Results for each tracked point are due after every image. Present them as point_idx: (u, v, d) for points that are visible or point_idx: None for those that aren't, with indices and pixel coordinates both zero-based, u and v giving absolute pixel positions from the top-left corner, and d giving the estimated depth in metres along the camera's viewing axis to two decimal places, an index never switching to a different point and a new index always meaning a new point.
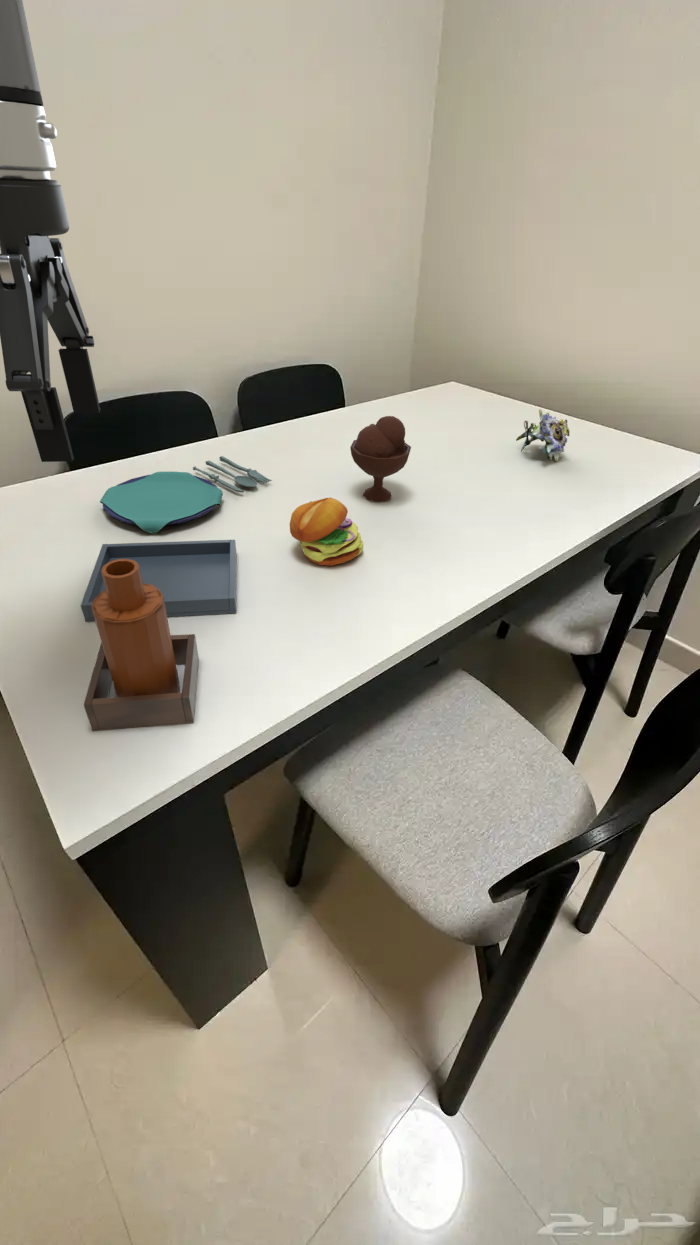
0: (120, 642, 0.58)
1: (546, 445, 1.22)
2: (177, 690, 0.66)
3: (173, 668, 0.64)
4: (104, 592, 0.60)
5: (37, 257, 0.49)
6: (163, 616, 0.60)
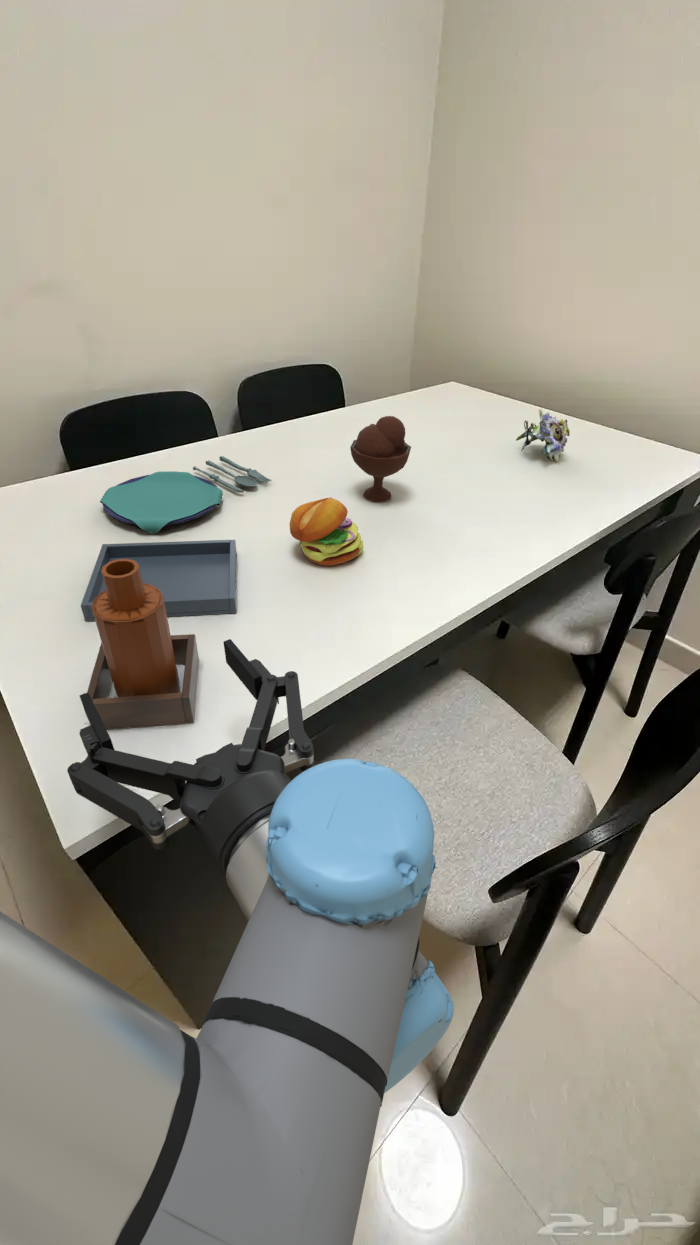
0: (120, 642, 0.58)
1: (546, 445, 1.22)
2: (177, 690, 0.66)
3: (173, 668, 0.64)
4: (104, 592, 0.60)
5: None
6: (163, 616, 0.60)
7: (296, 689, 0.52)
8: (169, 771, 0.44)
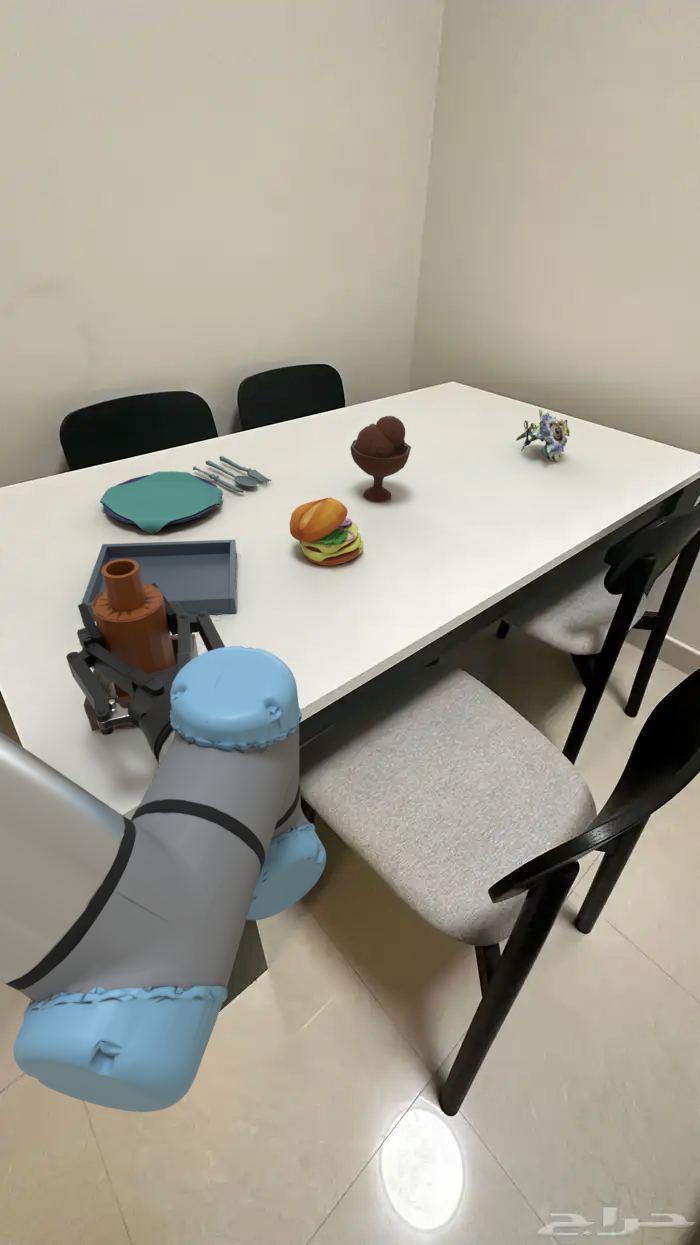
0: (120, 642, 0.58)
1: (546, 445, 1.22)
2: None
3: None
4: (104, 592, 0.60)
5: None
6: (163, 616, 0.60)
7: (210, 623, 0.60)
8: (128, 673, 0.53)
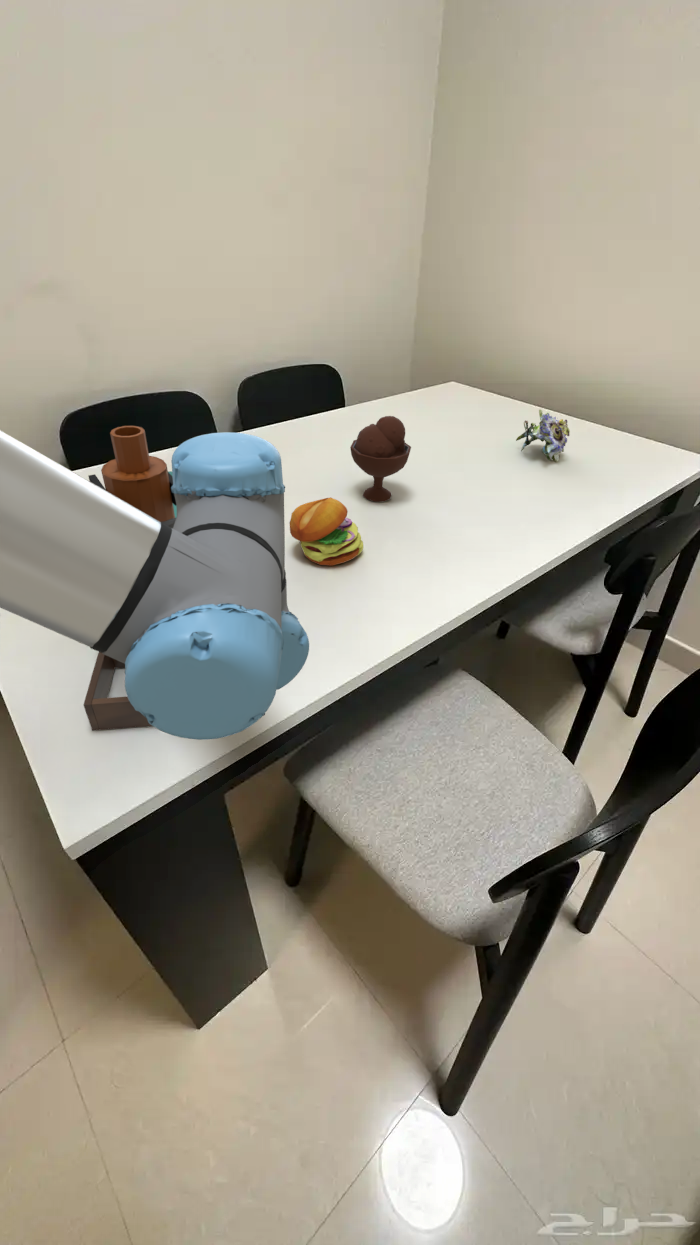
0: (127, 502, 0.63)
1: (546, 445, 1.22)
2: None
3: None
4: (112, 460, 0.65)
5: None
6: (166, 482, 0.65)
7: None
8: None
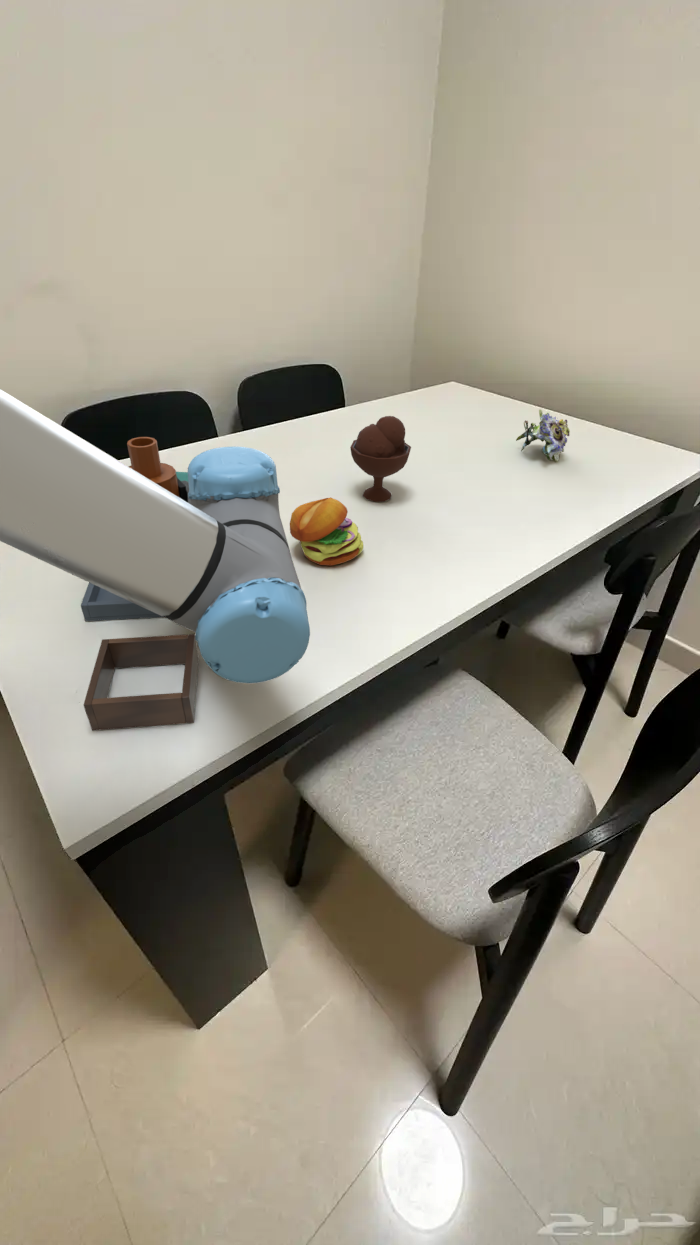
0: None
1: (546, 445, 1.22)
2: None
3: None
4: None
5: None
6: (176, 486, 0.74)
7: None
8: None
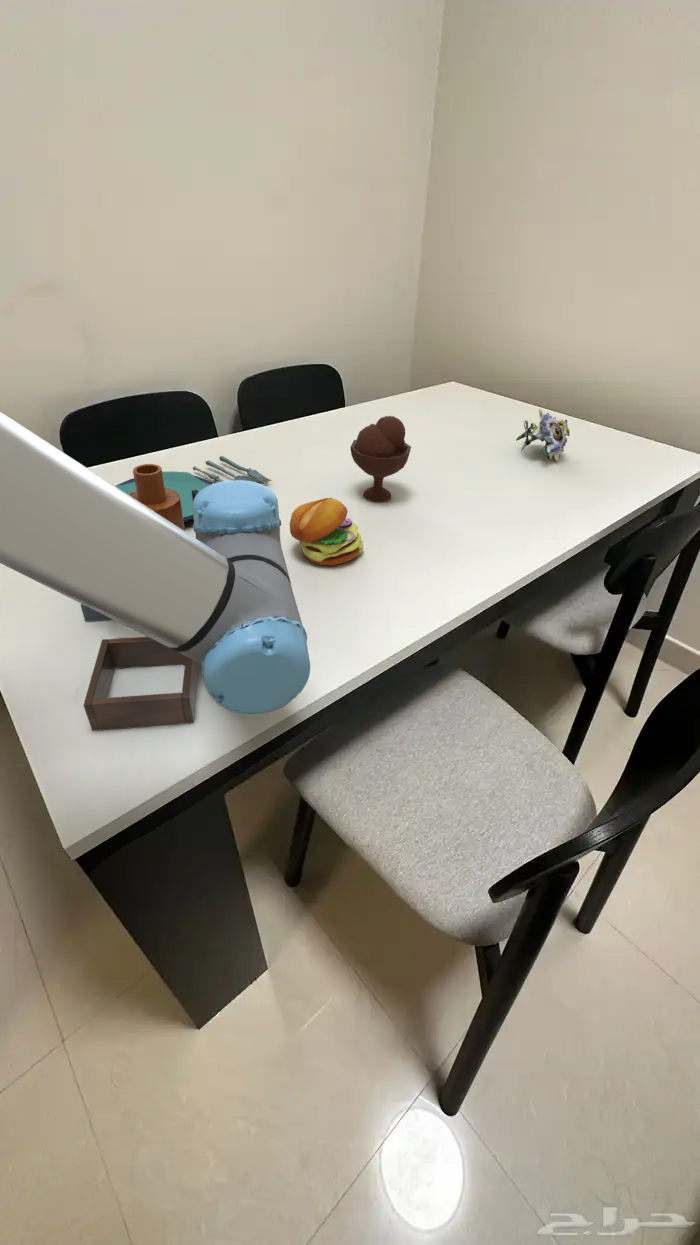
0: None
1: (546, 445, 1.22)
2: None
3: None
4: (133, 492, 0.77)
5: None
6: (180, 511, 0.76)
7: None
8: None
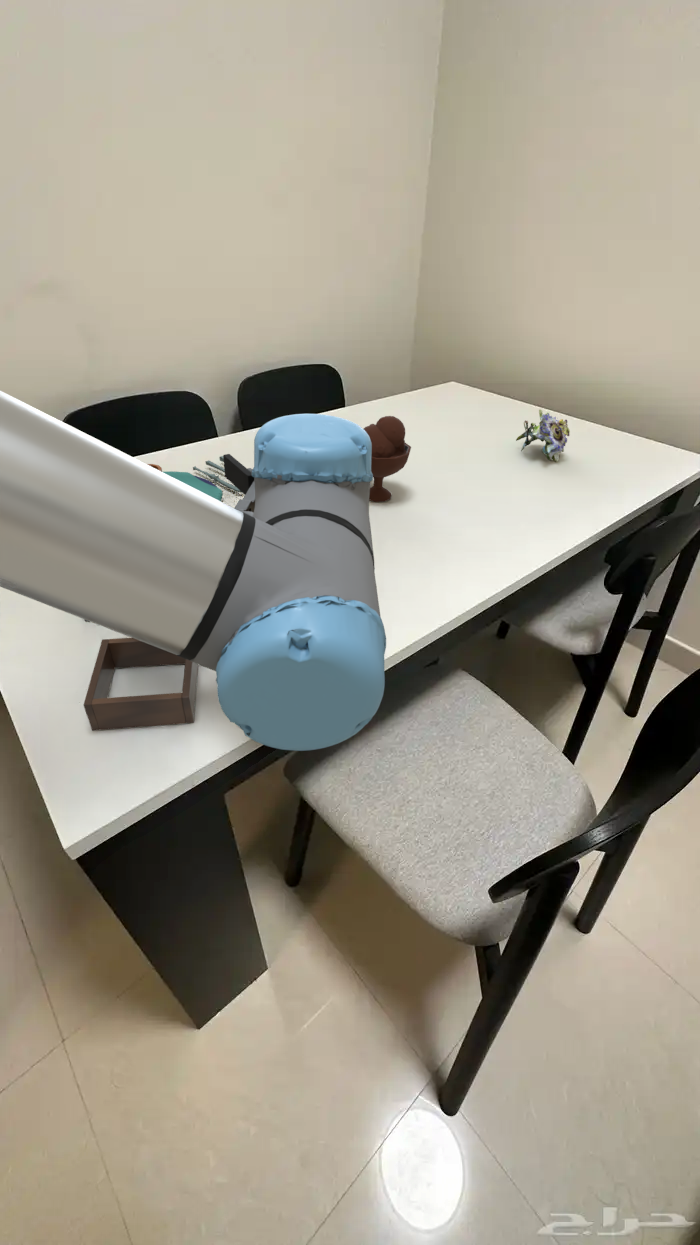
0: None
1: (546, 445, 1.22)
2: None
3: None
4: None
5: None
6: None
7: None
8: None
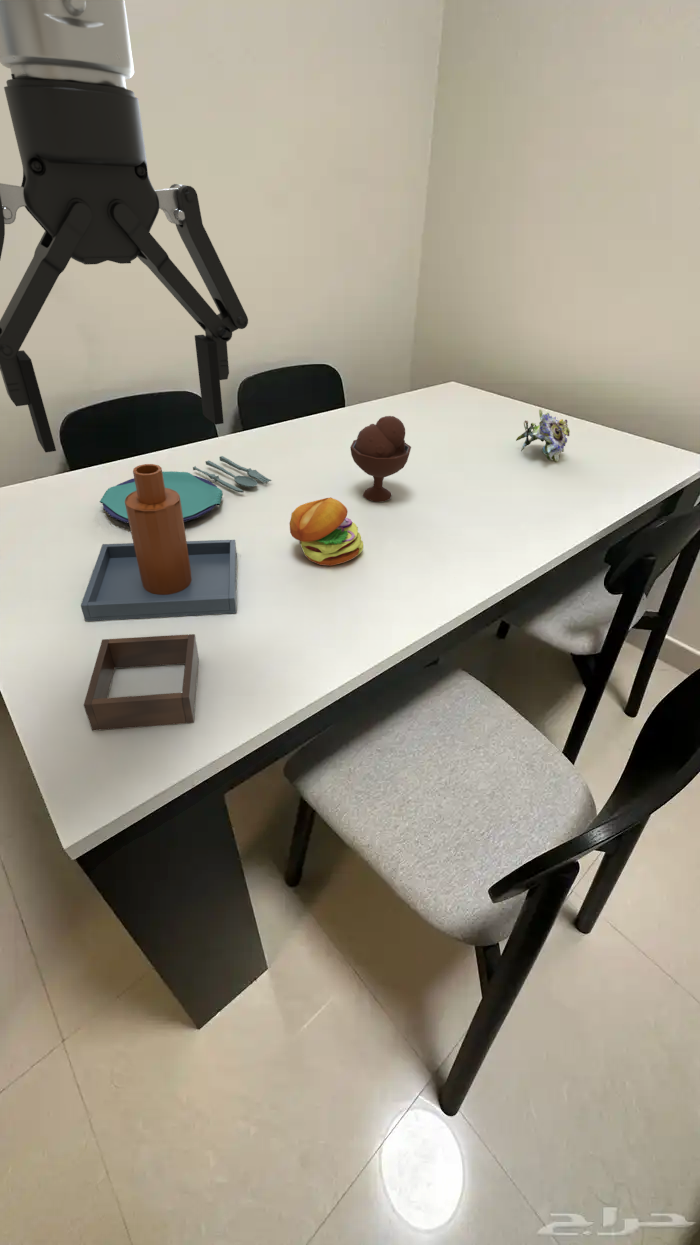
0: (147, 529, 0.74)
1: (546, 445, 1.22)
2: (189, 578, 0.83)
3: (187, 558, 0.81)
4: (133, 492, 0.77)
5: (70, 195, 0.37)
6: (180, 511, 0.76)
7: None
8: None
